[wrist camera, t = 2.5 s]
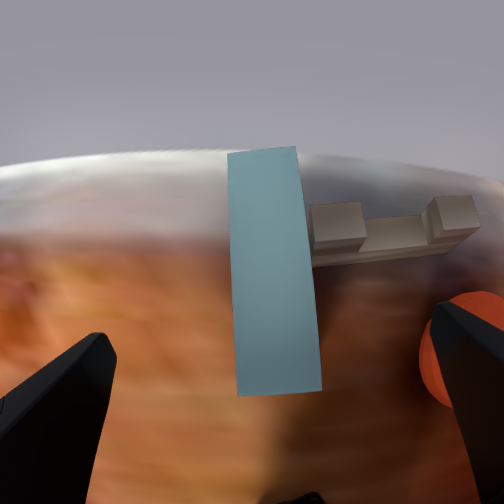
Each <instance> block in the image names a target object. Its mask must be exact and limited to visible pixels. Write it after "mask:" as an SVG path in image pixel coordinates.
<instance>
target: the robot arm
mask: <svg viewBox="0 0 504 504" xmlns="http://www.w3.org/2000/svg"><path fill="white" fill-rule="evenodd" d="M430 337H431V340H432V343H433V347H434V350H435V354H436V357H437V361H438V364H439V368H440V372H441V375H442V379H443V382H444V385H445V388H446V390H447V393H448V396H449V398H450V401H451V404H452V407H453V409H454V412H455V415H456V418H457V421H458V424H459V427H460V430H461V433H462V436H463V439H464V443H465V446H466V449H467V452H468V456H469V459H470V463H471V466H472V470H473V474H474V477H475V481H476V485H477V489H478V494H479V498H480V502H481V504H504V331H503V330H501V329H499V328H497V327H496V326H494V325H492V324H490V323H489V322H487V321H485V320H483V319H481V318H480V317H478V316H476V315H474V314H473V313H471V312H469V311H467V310H465V309H463V308H462V307H460V306H458V305H456V304H454V303H453V302H451V301H445V302H440V303H437V304H436V305H435V307H434V310H433V315H432V319H431V324H430ZM116 363H117V356H116V353H115V351H114V349H113V347H112V345H111V343H110V341H109V339H108V337H107V335H106V334H105V333H102V332H94V333H91V334H89V335H88V336H86V337H85V338H83V339H82V340H81V341H79V342H78V343H76V344H75V345H74V346H72V347H71V348H69V349H68V350H67V351H65V352H64V353H62V354H61V355H60V356H58V357H57V358H55V359H54V360H53V361H51V362H50V363H48V364H47V365H46V366H44V367H43V368H42V369H40V370H39V371H37V372H36V373H35V374H33V375H32V376H31V377H29V378H28V379H26V380H25V381H24V382H22V383H21V384H20V385H18V386H17V387H16V388H14V389H13V390H11V391H10V392H9V393H7V394H6V396H3V397H2V398H1V399H0V504H85V503H86V498H87V493H88V488H89V483H90V478H91V474H92V469H93V465H94V461H95V456H96V452H97V448H98V444H99V440H100V436H101V432H102V428H103V425H104V421H105V417H106V414H107V410H108V406H109V401H110V395H111V389H112V384H113V378H114V373H115V368H116ZM313 497H315V498H317V500H316V501H311V500H310V499H311V498H313ZM279 504H326V502H325V501H324V499H323V498H322V496H321V495H320V494H319V493H317V492H311V493H309V494H307V495H304V496H302V497H300V498H298V499H295V500H293V501H290V502H281V503H279Z"/></svg>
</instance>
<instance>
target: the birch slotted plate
mask: <svg viewBox="0 0 504 504" xmlns="http://www.w3.org/2000/svg"><path fill="white" fill-rule="evenodd" d="M480 227H481V226H480V222H479V219H478V215H477V212H476V208H475V205H474V202H473V199H472V196H471V195H470V196H444V197H435V198H434V199H433V200H432V201H431V203H430V204H429V205H428V207H427V208H426V209H425V210H424V212H423V213H422V214H421V215H412V216H399V217H385V218H373V219H364V218H363V213H362V208H361V203H360V201H359V202H346V203H333V204H321V205H310V214H309V224H308V240H309V248H310V257H311V265H312V268H313V267H323V266H334V265H344V264H354V263H363V262H373V261H383V260H392V259H401V258H410V257H419V256H428V255H437V254H445V253H448V252H449V251H451V250H452V249H453V248H455V247H456V246H457V245H459V244H460V243H461V242H462V241H464V240H465V239H466V238H467V237H469V236H470V235H471V234H472V233H474V232H475V231H476V230H477V229H479V228H480Z"/></svg>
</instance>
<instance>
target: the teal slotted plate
mask: <svg viewBox="0 0 504 504" xmlns="http://www.w3.org/2000/svg"><path fill="white" fill-rule="evenodd" d="M227 159H228V196H229V227H230V255H231V279H232V302H233V323H234V343H235V361H236V379H237V396H261V395H279V394H292V393H304V392H315V391H322V380H321V365H320V351H319V338H318V326H317V315H316V304H315V294H314V284H313V275H312V265H311V257H310V248H309V240H308V232H307V224H306V216H305V208H304V201H303V194H302V187H301V180H300V173H299V167H298V160H297V154H296V148H295V146H291V147H280V148H270V149H260V150H251V151H243V152H235V153H227Z"/></svg>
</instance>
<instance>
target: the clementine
mask: <svg viewBox="0 0 504 504" xmlns="http://www.w3.org/2000/svg"><path fill="white" fill-rule="evenodd" d="M449 301H451V302H453V303H454V304H456V305H458V306H460V307H462V308H463V309H465V310H467V311H469V312H471V313H473V314H474V315H476V316H478V317H480V318H481V319H483V320H485V321H487V322H489V323H490V324H492V325H494V326H496V327H497V328H499V329H501V330H503V331H504V298H502V297H500V296H498V295H496V294H494V293H490V292H485V291H477V292H469V293H463V294H460V295H458V296H456V297H454V298H452V299H450V300H449ZM431 319H432V318H431ZM431 319H430V321H429V322H428V323H427V326H426V328H425V331H424V333H423V336H422V338H421V344H420V350H419V368H420V372H421V375H422V379H423V382H424V384H425V386H426V387H427V389H428V391H429V392H430V394H431V395H432V396H434V397H435V398H436V399H437V400H438V401H439V402H441V403H442V404H444V405H445V406H448V407H450V408H453V407H452V404H451V401H450V398H449V396H448V393H447V390H446V388H445V385H444V382H443V379H442V375H441V372H440V368H439V364H438V361H437V357H436V354H435V350H434V347H433V343H432V340H431V337H430V324H431Z"/></svg>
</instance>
